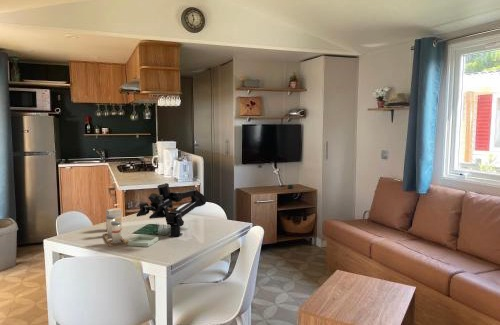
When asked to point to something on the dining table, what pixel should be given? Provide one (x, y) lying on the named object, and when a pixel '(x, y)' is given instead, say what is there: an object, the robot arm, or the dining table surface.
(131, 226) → the dining table surface
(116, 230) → the ball
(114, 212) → the supplement box
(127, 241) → the wooden fuse rack
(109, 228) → the cylinder
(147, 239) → the tray
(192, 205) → the robot arm
